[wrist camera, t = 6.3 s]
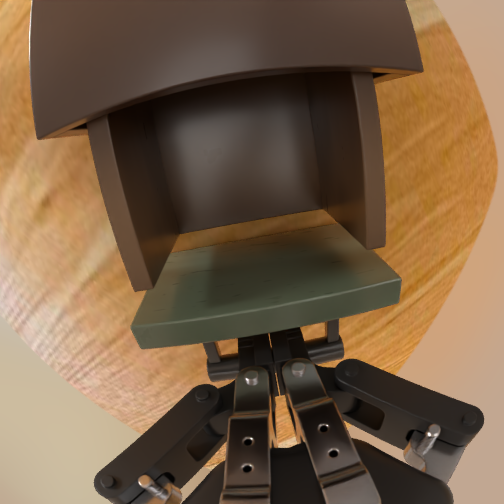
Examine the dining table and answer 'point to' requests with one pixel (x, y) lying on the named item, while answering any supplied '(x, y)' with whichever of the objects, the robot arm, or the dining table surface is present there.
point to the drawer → (249, 209)
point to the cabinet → (199, 49)
